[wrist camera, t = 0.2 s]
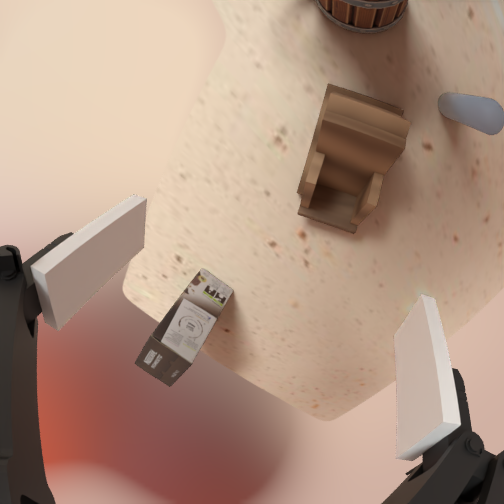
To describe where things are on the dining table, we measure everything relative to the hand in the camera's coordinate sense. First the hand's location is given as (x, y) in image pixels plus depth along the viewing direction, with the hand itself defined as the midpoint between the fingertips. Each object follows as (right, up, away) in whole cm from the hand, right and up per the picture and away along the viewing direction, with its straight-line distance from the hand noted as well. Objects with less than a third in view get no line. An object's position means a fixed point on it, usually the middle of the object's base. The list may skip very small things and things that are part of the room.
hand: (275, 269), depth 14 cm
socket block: (+11, +13, +22) cm, 27 cm away
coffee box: (-9, -6, +40) cm, 41 cm away
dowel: (+22, +18, +15) cm, 32 cm away
